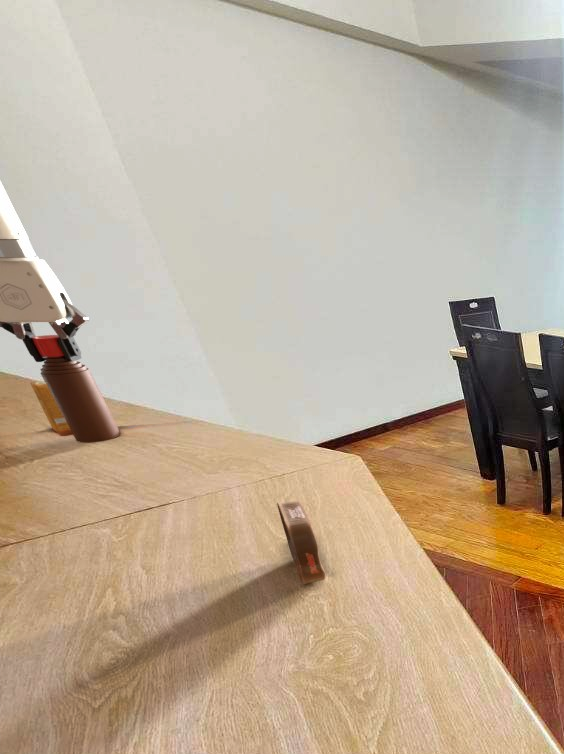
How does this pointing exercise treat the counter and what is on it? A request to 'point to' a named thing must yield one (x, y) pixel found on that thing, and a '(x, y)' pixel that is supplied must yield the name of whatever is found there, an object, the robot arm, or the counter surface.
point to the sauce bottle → (79, 400)
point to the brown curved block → (301, 541)
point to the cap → (48, 345)
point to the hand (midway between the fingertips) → (59, 359)
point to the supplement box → (51, 408)
